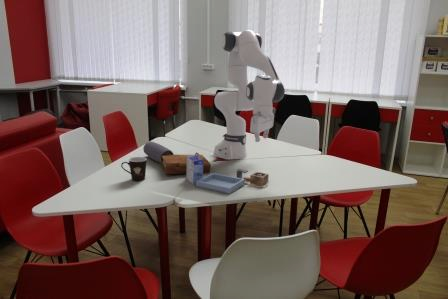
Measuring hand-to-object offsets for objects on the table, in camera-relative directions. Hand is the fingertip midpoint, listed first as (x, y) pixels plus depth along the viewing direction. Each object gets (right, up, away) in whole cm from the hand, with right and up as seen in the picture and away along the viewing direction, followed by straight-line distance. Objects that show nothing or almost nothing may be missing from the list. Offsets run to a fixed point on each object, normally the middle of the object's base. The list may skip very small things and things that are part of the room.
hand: (261, 139), depth 180 cm
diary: (-39, -15, +24) cm, 48 cm away
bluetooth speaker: (-55, -12, +38) cm, 68 cm away
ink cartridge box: (-32, -21, +7) cm, 39 cm away
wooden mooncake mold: (-3, -20, +6) cm, 21 cm away
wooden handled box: (-4, -21, +7) cm, 22 cm away
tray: (-19, -22, +1) cm, 29 cm away
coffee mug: (-62, -19, +10) cm, 65 cm away
